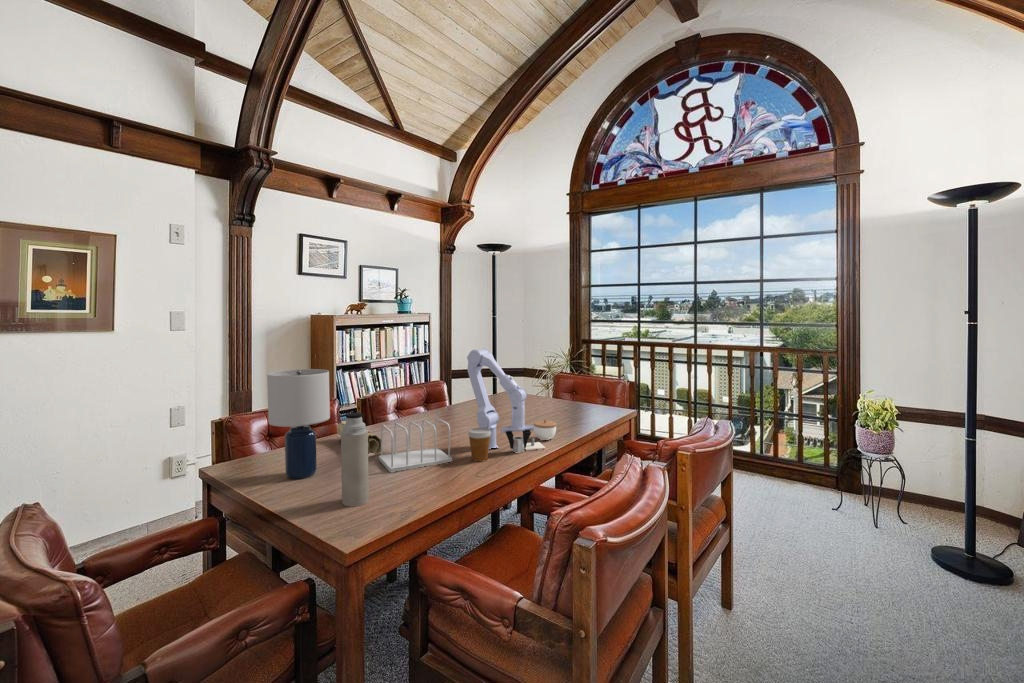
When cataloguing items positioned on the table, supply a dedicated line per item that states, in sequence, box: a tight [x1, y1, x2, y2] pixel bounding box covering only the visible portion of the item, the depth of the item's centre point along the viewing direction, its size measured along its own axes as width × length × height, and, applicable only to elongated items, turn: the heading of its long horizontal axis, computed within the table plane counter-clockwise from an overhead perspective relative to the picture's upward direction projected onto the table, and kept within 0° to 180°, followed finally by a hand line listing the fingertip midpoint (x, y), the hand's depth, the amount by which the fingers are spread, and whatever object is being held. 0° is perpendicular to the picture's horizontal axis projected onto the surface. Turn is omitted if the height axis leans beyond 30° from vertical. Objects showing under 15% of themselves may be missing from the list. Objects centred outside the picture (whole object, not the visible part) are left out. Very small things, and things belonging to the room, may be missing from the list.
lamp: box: [266, 368, 331, 480], centre depth 165 cm, size 20×20×39 cm
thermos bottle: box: [340, 412, 370, 507], centre depth 142 cm, size 8×8×28 cm
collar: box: [511, 435, 525, 453], centre depth 195 cm, size 5×5×6 cm
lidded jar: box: [533, 419, 557, 440], centre depth 215 cm, size 11×11×9 cm
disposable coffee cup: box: [467, 427, 491, 462], centre depth 184 cm, size 10×10×12 cm
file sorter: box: [378, 417, 453, 473], centre depth 181 cm, size 25×17×16 cm
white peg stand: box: [525, 438, 547, 450], centre depth 201 cm, size 9×9×4 cm
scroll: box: [334, 420, 381, 455], centre depth 201 cm, size 11×34×10 cm, turn 38°
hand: (518, 447), depth 195 cm, fingers closed on collar, 5 cm apart
